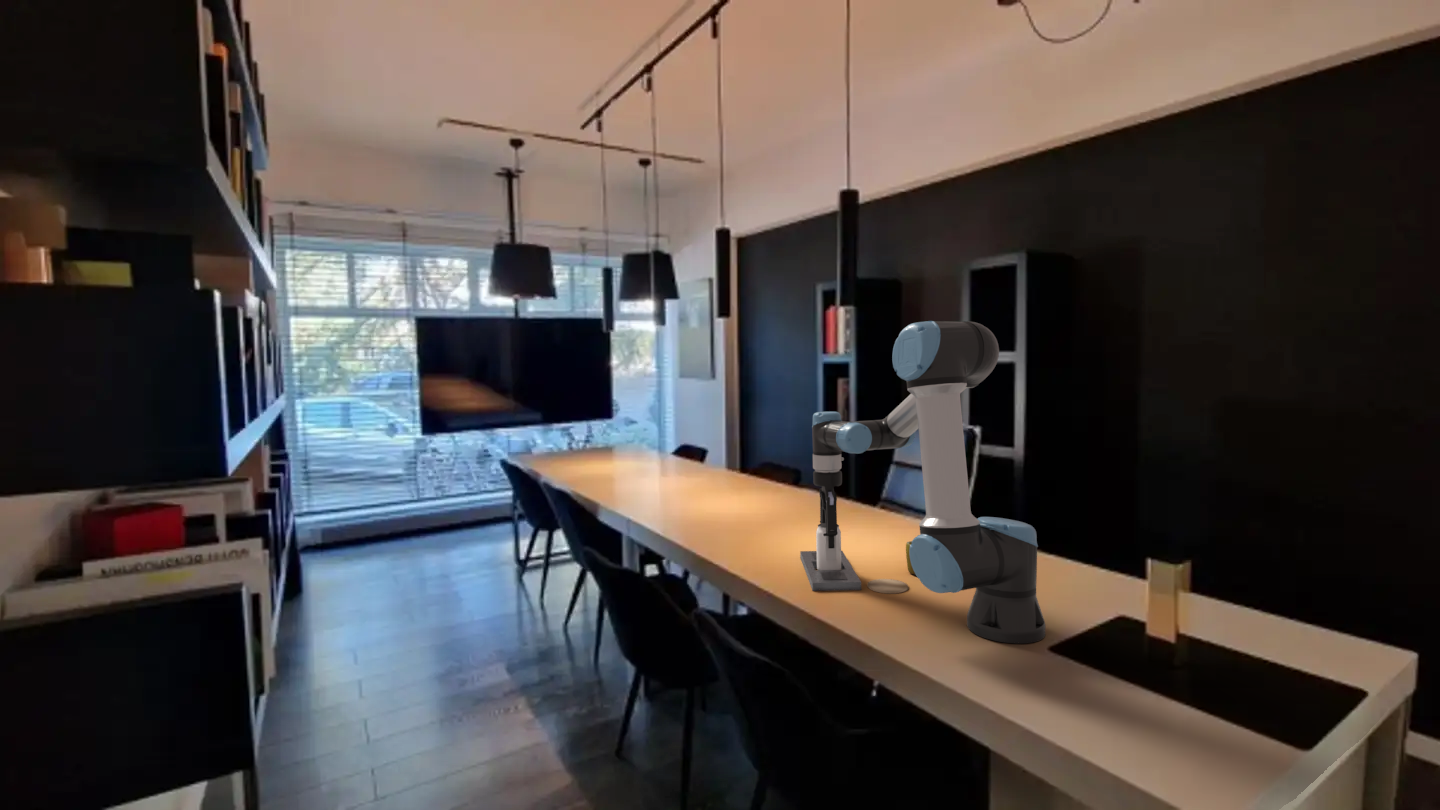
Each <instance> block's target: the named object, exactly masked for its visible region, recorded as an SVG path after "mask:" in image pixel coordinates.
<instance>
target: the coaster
mask: <svg viewBox="0 0 1440 810" xmlns="http://www.w3.org/2000/svg"><path fill="white" fill-rule="evenodd" d="M867 588H868V589H869V590H871V591H873V592H875V593H880V594H887V595H889V594H890V595H891V594H902V593H905V592H908V591H909V589H910V588H909V585H908V584H907V582H904V581H902V580H898V579H892V578H891V579H890V578H876V579H873V580H870V581H868V582H867Z"/></svg>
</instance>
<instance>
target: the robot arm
mask: <svg viewBox="0 0 1440 810" xmlns="http://www.w3.org/2000/svg"><path fill="white" fill-rule="evenodd" d="M999 357H1000V347H999V343H998V339H997V338H996V336H995V334H994V332H992V330H990V329H989V328H988V327H986V326H984V325H983V324H981V323H978V322H975V321H968V320H967V321H945V320H942V321H939V320H937V321H936V320H928V321H918V322H913V323H910V324H908V325H907V326H905V327H904V328H903V329H902V330H901V331H900V332H899V334H898V337H897V338H896V339H895V341H894V344H893V348H892V357H891V358H892V359H891V360H892V368H893V369H894V372H896V375H897V376H898V377H899V378H900V379H901V380H904V381H906V389H907V391H908V392H909V393H910V394H909V395H908V396H907V397H906V398H905V399H904V400H902V402H900V403H899V405H897V406H896V407H895V408H894V409H893V410H892V411H891V412H890V413H889V414H888V415H887V416H885V418H883V419H873V420H858V421H843V420H842V415H841V413H840V412H838V411H817V412H814V413H813V415H812V426H811V429H812V430H811V431H812V469H813V470H814V471H813V472H812V476H813V477H812V478H813V479H812V480H813V481H812V482H813V484H814V486H816V487H821V488H819V499H820V500H819V507H820V508H819V518H820V520H819V524H822V523H825V524H826V533H824V534H823V536H825V555H826V560H836V535H837V534H838V532H837V524H838V519H837V518H838V516H837V515H838V513H837V501H838V498H837V492H836V491H835V488H834V487H840V486H842V484H843V472H842V471H841V469H842V465H843V464H842V461H844V460H845V458H844V457H842V452H845V453H848V454H857V455H858V454H863V453H864V452H866V451H874V450H877V451H878V450H892V449H896V450H897V449H898V450H899V449H902V448H907V447H909V446H911V445H913V443H914V441H915V440H914V439H916V432H917V430H918V438H919V447H920V448H919V449H920V458H921V461H920V462H921V471H922V482H923V484H922V485H923V493H924V504H925V505H924V506H925V516H924V517H923V519H921V521H920V522H919V523H918V524H919V534H918V535H917V536H915V537H914V538H913V539H912V540H911V541H912V544H911V545H910V550H909V554H910V561H911V565H912V568H913V570H914V572H915V574H916V575H915V576H916V577H917V579H919V581H920V582H921V584H922V585H923V586H924V587H926V589H928V590H929V591H931V592H933V593H936V594H947V593H953V594H955V593H959V592H961V591H966V590H971V589H975V591H974V594H973V597H972V599H971V603H970V606H969V609H968V611H967V615H966V626H967V628H968V630H969V631H971V632H972V633H974V634H975V635H977V636H979V637H981V638H984V639H987V640H990V641H994V642H999V643H1006V644H1031V643H1035V642H1038V641H1042V640H1043V639H1044V638H1045V636H1046V622H1045V619H1044V616H1043V613H1042V610H1041V606H1040V604H1039V601H1038V598H1037V581H1038V580H1037V579H1038V578H1037V573H1038V572H1037V571H1038V547H1039V545H1038V541H1037V538H1038V537H1037V531H1036V529H1035V527H1033V525H1031V524H1028V523H1026V522H1023V521H1019V520H1015V519H1009V518H1003V517H994V516H980V517H978V518H977V517H975V515H973V514H972V511H971V500H970V489H969V488H970V487H969V479H968V478H969V477H968V468H967V457H966V446H965V436H964V425H963V424H964V422H963V416H962V415H963V414H962V402H961V393H963V391H965V390H966V389H973V388H975V387H977V386H979V384H980V383H982V382H984V380H986V378H987V377H988V376H990V374H991V373H992V372H993V370H994V369H995V367H996V365H997V364H998V361H999Z"/></svg>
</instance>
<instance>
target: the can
mask: <svg viewBox="0 0 1440 810" xmlns="http://www.w3.org/2000/svg"><path fill="white" fill-rule="evenodd" d="M837 532H838V534H837V535H836V560H826V555H825V536H823V534H824V533H826V524H825V523H822V524H821V523H819V524H817V528H816V532H815V534H816V535H815V536H816V537H815V540H816V542H815V543H816V547H815V548H816V551H817V570H842V569H841V551H842V540H841V539H842V534H841V533H842V532H841V529H840V524H838V523H837Z"/></svg>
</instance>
